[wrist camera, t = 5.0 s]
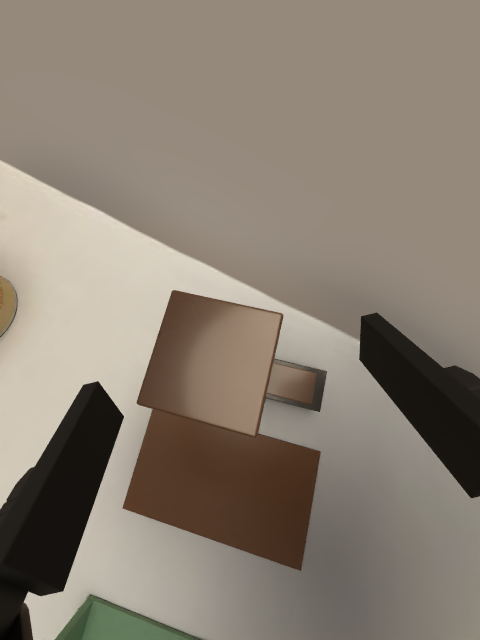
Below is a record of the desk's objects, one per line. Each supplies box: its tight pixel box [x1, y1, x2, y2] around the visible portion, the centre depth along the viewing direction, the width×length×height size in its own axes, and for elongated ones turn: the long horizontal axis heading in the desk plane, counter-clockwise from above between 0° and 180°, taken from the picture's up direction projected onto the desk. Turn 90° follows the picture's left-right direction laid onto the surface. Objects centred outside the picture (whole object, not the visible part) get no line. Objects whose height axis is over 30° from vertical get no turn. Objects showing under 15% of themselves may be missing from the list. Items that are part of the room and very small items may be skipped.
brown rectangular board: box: [123, 409, 320, 571], centre depth 19 cm, size 14×8×1 cm, turn 76°
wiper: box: [137, 290, 327, 438], centre depth 14 cm, size 12×3×16 cm, turn 76°
